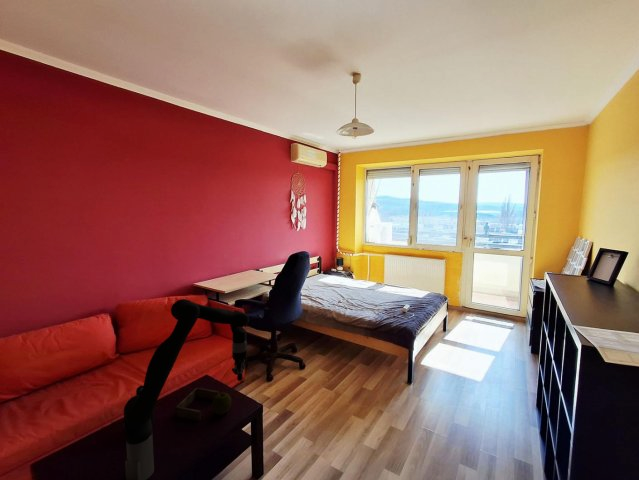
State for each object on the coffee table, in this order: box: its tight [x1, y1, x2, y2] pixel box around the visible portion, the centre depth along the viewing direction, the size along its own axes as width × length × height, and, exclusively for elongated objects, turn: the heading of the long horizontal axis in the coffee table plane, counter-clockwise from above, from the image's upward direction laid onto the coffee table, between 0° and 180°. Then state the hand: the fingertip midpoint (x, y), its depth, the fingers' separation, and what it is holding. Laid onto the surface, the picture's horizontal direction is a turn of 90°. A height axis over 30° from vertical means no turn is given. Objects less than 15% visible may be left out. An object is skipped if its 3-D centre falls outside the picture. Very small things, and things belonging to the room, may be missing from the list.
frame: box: [174, 387, 220, 422], centre depth 164 cm, size 18×14×5 cm
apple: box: [211, 392, 232, 416], centre depth 160 cm, size 10×10×11 cm
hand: (240, 379), depth 156 cm, fingers closed
